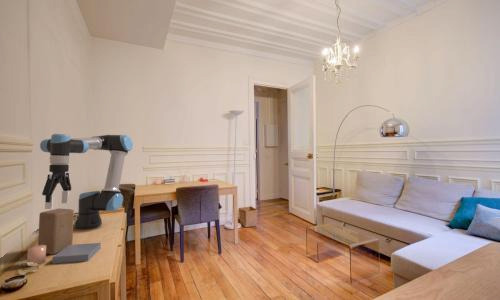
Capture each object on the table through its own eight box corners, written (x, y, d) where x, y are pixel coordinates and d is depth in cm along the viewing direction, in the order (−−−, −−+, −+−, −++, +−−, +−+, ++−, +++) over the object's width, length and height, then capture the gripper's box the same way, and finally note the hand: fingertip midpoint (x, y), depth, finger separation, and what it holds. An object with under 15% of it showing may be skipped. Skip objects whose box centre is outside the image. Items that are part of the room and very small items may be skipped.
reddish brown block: (33, 260, 102) (33, 245, 102) (48, 259, 103) (49, 244, 103) (23, 267, 96) (24, 250, 96) (39, 265, 97) (40, 249, 97)
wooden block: (52, 255, 107) (54, 213, 108) (36, 253, 109) (38, 212, 110) (73, 247, 117) (74, 209, 117) (57, 245, 119) (59, 207, 119)
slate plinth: (69, 250, 113) (69, 244, 113) (100, 248, 116) (100, 242, 116) (52, 263, 99) (52, 257, 99) (88, 260, 102) (88, 254, 103)
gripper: (64, 163, 125) (62, 201, 125) (33, 164, 101) (30, 211, 100) (80, 163, 127) (78, 200, 126) (53, 165, 103) (50, 211, 102)
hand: (57, 205), depth 113 cm, fingers open, 13 cm apart
